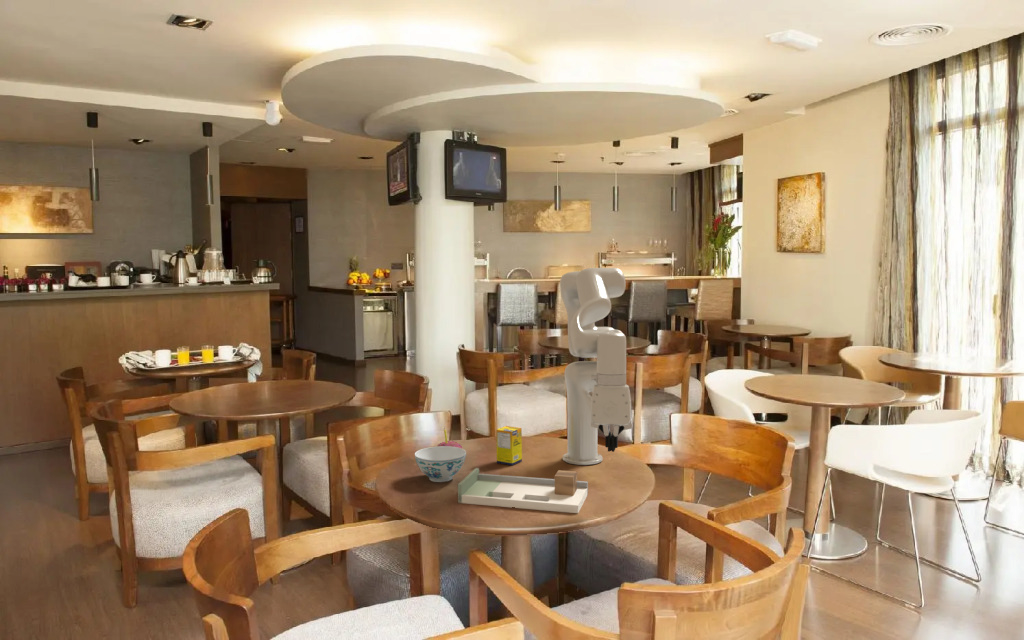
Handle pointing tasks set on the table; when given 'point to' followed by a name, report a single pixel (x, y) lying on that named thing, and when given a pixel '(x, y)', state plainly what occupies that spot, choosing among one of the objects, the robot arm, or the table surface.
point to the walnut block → (565, 483)
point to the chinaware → (440, 462)
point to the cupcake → (449, 442)
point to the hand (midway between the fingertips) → (611, 450)
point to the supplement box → (509, 445)
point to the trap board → (519, 492)
